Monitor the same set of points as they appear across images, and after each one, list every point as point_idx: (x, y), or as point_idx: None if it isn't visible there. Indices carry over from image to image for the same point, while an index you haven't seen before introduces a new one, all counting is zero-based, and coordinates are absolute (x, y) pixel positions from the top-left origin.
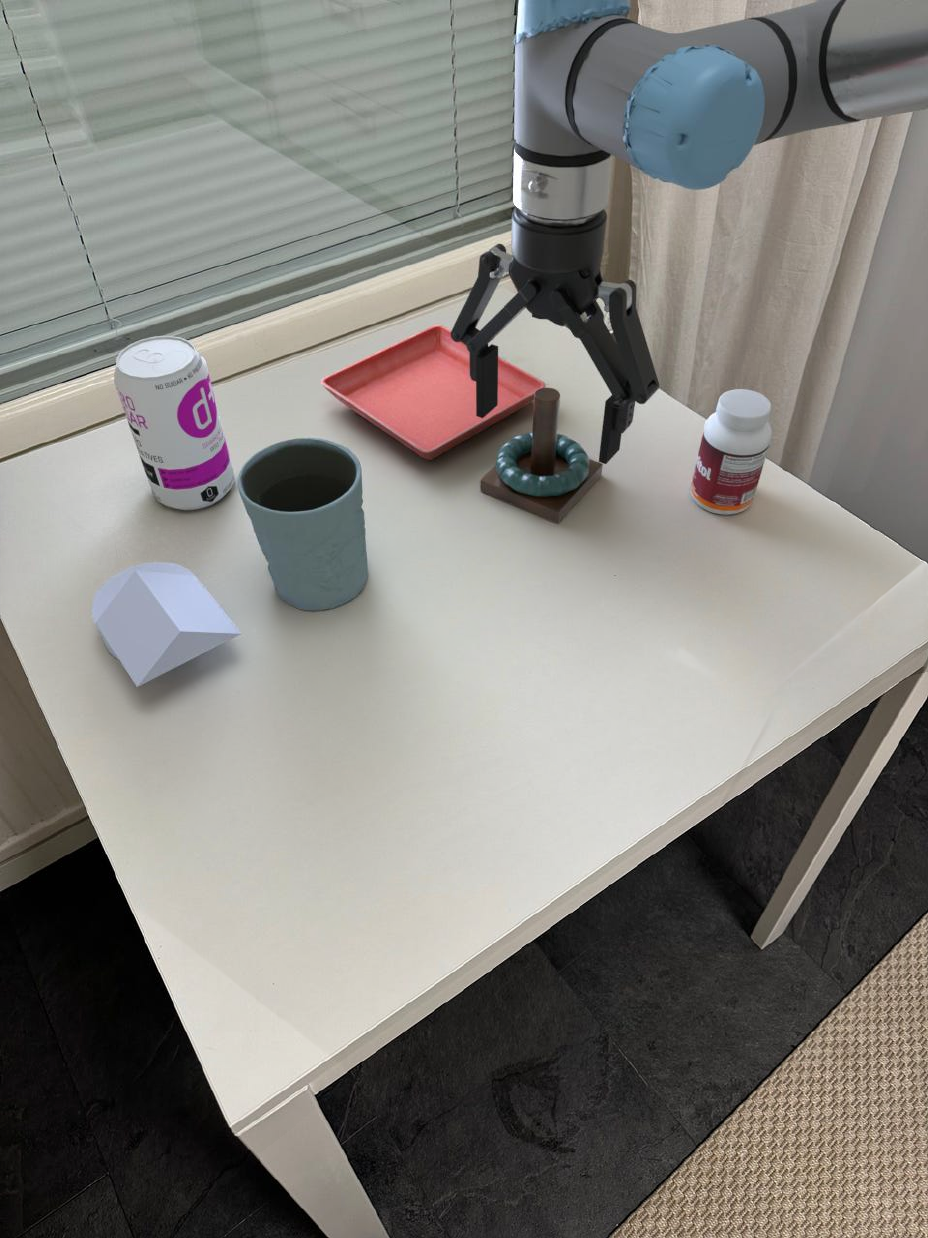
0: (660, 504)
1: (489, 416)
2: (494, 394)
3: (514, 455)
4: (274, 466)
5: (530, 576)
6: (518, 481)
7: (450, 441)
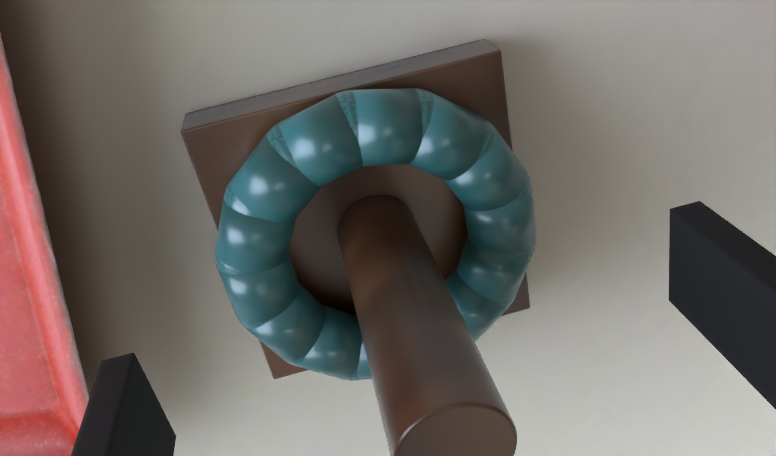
0: (704, 9)
1: (41, 240)
2: (134, 420)
3: (306, 313)
4: None
5: (568, 420)
6: None
7: None
